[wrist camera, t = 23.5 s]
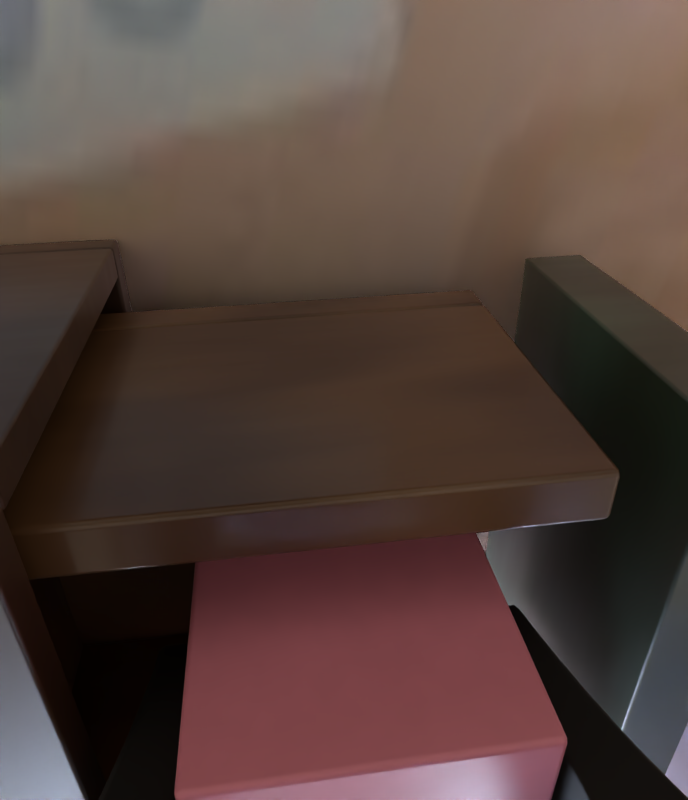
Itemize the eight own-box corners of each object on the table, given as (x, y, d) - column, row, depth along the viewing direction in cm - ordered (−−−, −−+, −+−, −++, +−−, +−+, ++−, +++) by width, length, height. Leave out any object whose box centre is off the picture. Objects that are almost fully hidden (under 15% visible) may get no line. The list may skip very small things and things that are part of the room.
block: (460, 492, 11) (572, 740, 7) (443, 659, 13) (522, 914, 9) (198, 518, 10) (172, 799, 7) (227, 686, 13) (220, 965, 9)
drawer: (765, 242, 13) (1116, 397, 8) (653, 580, 19) (822, 813, 13) (-56, 292, 12) (-315, 530, 6) (72, 648, 17) (-10, 948, 12)
